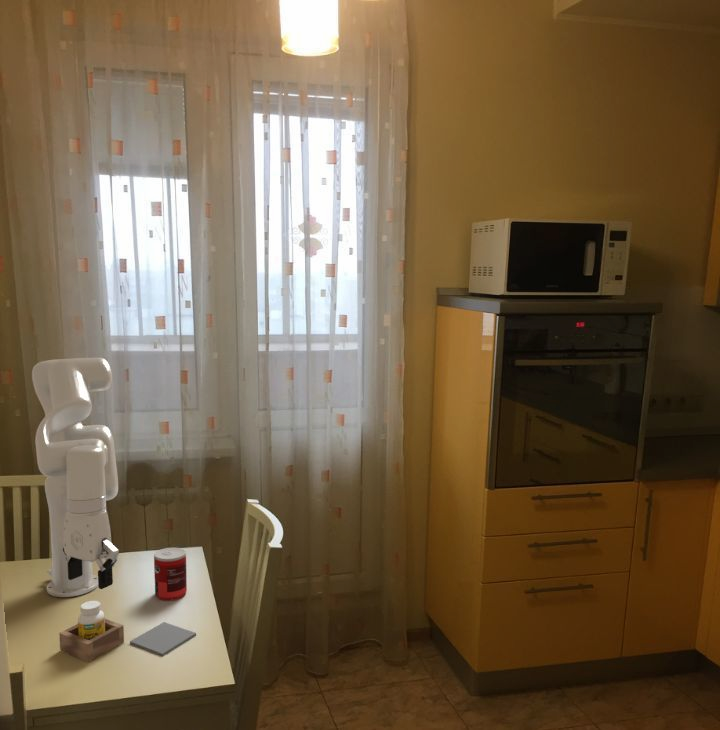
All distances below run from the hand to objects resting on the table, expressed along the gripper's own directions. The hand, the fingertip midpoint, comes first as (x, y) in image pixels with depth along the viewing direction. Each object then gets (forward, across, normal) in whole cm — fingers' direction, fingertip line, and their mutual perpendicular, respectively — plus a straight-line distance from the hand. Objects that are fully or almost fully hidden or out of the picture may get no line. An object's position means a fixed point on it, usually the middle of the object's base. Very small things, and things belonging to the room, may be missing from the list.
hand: (90, 582), depth 141 cm
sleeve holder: (+15, -1, 0) cm, 15 cm away
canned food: (+15, -5, +28) cm, 32 cm away
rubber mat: (+15, +10, +10) cm, 21 cm away
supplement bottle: (+15, -1, 0) cm, 15 cm away
